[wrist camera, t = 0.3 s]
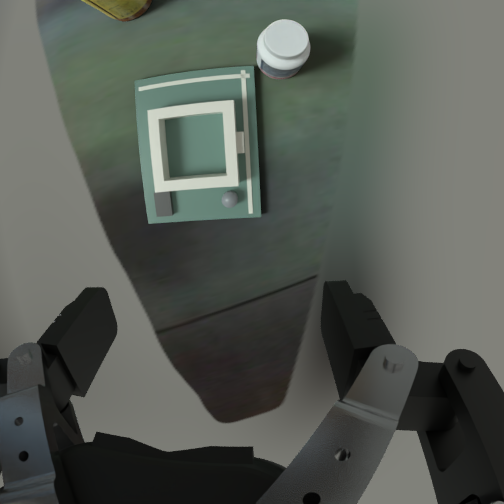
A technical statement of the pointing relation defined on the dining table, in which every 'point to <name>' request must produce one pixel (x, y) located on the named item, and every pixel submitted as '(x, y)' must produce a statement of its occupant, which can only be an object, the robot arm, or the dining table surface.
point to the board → (199, 145)
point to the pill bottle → (282, 49)
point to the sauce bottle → (121, 8)
